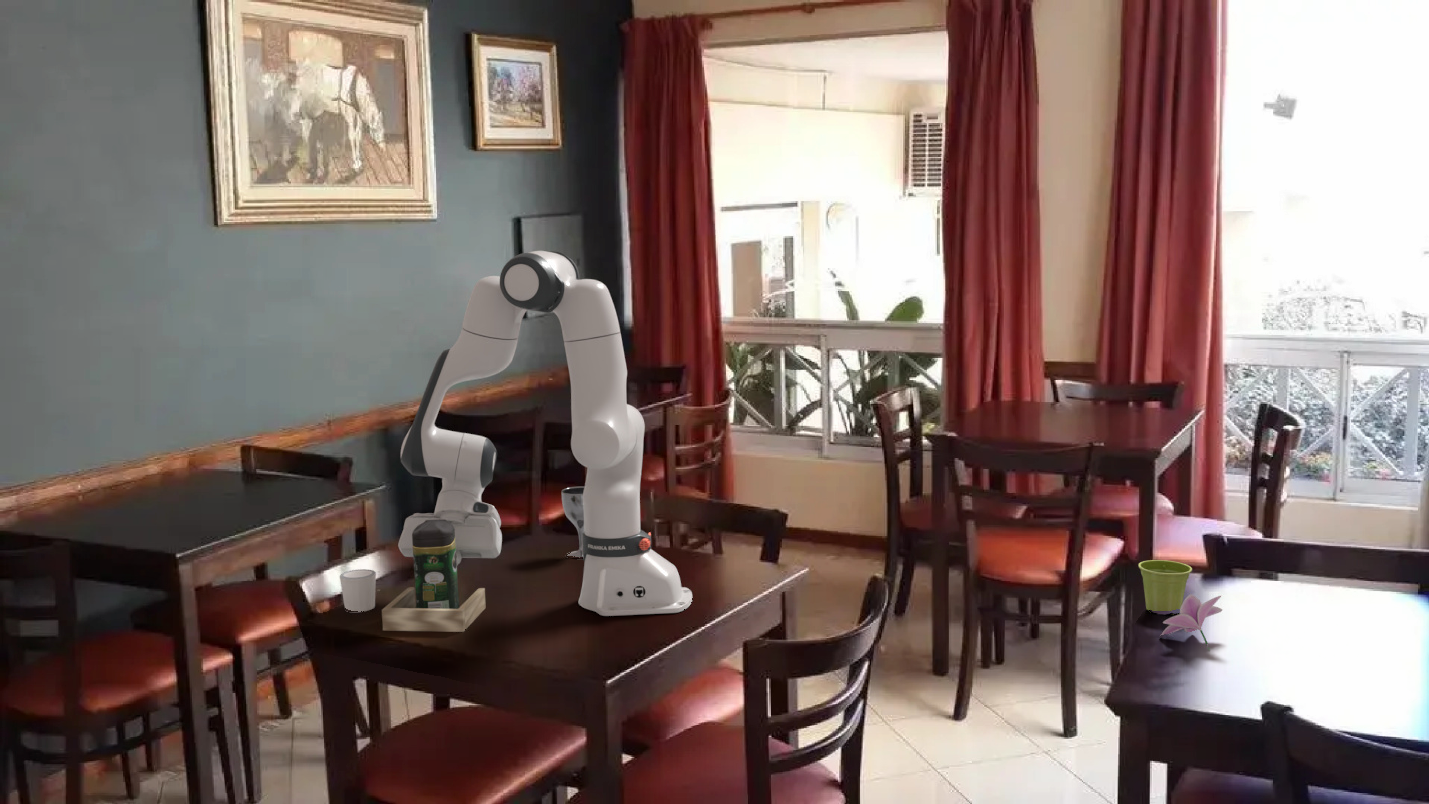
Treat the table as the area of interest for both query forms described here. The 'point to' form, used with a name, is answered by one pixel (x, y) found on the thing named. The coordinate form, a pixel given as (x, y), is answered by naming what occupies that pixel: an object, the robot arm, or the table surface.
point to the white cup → (358, 589)
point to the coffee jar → (435, 565)
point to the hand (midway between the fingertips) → (443, 574)
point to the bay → (430, 614)
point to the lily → (1192, 615)
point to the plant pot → (1164, 584)
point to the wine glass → (574, 512)
